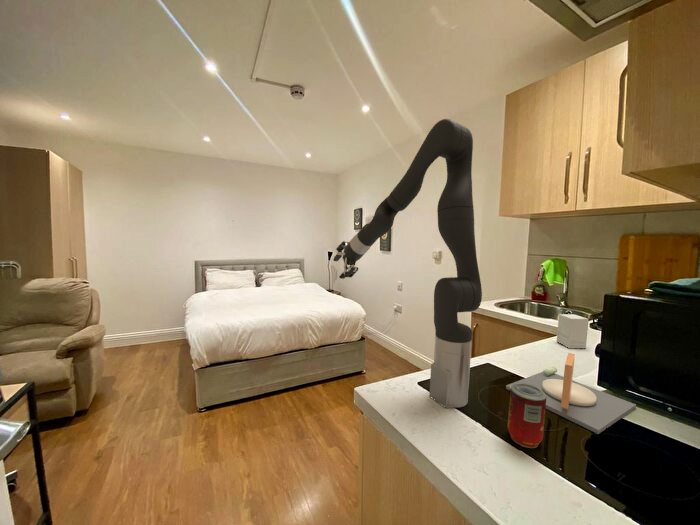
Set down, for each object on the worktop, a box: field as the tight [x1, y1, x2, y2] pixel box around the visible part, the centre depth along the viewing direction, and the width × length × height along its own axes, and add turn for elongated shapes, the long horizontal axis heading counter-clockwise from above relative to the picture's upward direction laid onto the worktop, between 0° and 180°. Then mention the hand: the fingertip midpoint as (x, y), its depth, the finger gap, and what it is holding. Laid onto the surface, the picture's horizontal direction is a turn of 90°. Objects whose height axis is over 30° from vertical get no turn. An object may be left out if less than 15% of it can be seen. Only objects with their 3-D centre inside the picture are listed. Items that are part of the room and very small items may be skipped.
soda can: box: [507, 383, 546, 449], centre depth 63 cm, size 7×7×12 cm
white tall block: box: [556, 313, 590, 349], centre depth 121 cm, size 7×7×13 cm
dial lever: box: [542, 352, 596, 409], centre depth 78 cm, size 18×12×12 cm, turn 139°
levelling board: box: [505, 366, 637, 435], centre depth 81 cm, size 24×22×3 cm
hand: (338, 268), depth 121 cm, fingers open, 8 cm apart
